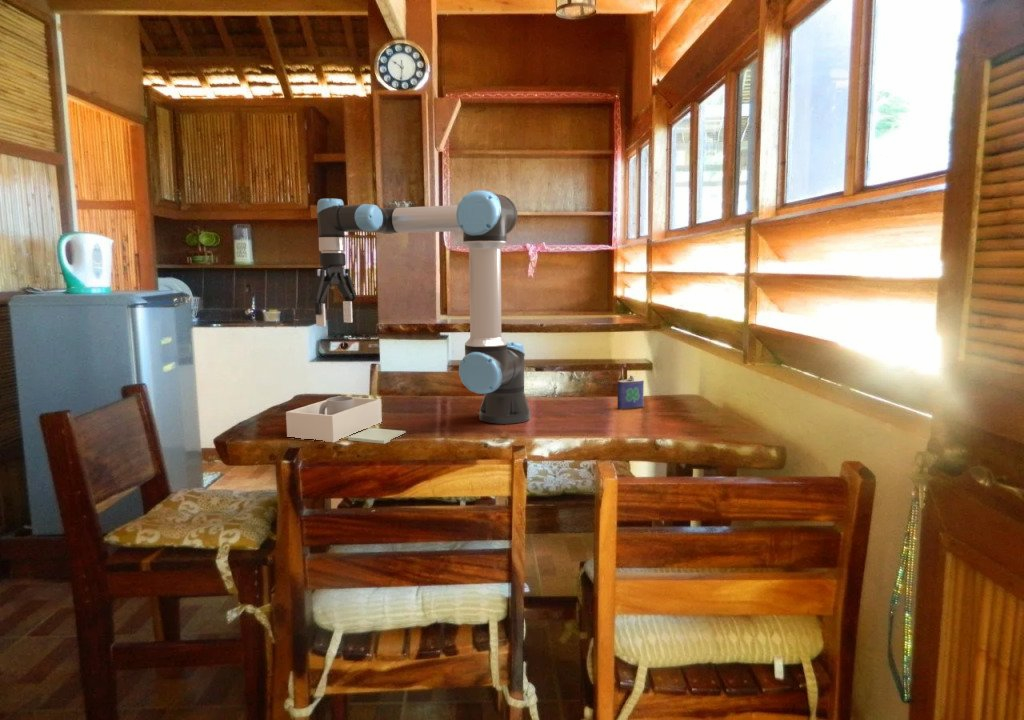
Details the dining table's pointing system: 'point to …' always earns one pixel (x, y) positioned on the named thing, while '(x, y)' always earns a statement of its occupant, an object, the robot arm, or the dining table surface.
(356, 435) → the tile
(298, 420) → the crate
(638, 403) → the flask
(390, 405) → the dining table surface
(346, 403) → the cup
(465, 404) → the dining table surface
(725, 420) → the dining table surface
